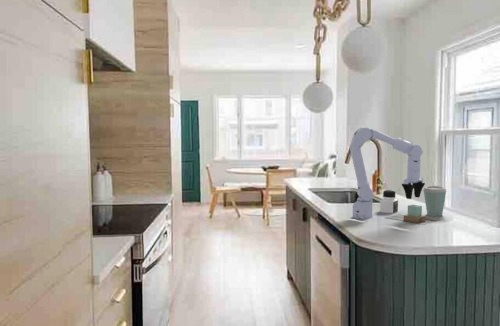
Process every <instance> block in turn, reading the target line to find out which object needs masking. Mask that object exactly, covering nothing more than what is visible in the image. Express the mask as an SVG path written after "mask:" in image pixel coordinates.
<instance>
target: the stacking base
mask: <svg viewBox="0 0 500 326" xmlns="http://www.w3.org/2000/svg"><path fill="white" fill-rule="evenodd" d="M385 219H387V220H392V221H398V222H399V221H400V222H405V223H409V224H416V225H421V226H425V225H429V224H432V223H433V224H434V223H435V222H438V220H437V219H430V218H427V216H426V215H424V214H422V216H418V217H415V216H408V213H407V214H401V213H400V214H396V215H391V216H390V215H389V216H386V217H385Z"/></svg>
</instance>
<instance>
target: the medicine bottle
mask: <svg viewBox="0 0 500 326" xmlns="http://www.w3.org/2000/svg"><path fill="white" fill-rule="evenodd" d="M398 211H399V200H398V199H397V198H396V191H395V190H392V189H390V190H389V189H388V190H386V189H385V190H384V191H383V192H382V199H380V200H379V212H380V213H387V214H395V213H397V212H398Z"/></svg>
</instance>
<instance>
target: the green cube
mask: <svg viewBox="0 0 500 326" xmlns="http://www.w3.org/2000/svg"><path fill="white" fill-rule="evenodd" d="M407 214H408V216H415V217H418V216H422V215H423V205H417V204H410V205H407Z"/></svg>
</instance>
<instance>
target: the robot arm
mask: <svg viewBox="0 0 500 326" xmlns="http://www.w3.org/2000/svg"><path fill="white" fill-rule="evenodd" d="M369 140H379V141H381V142H384V143H386V144H388V145H391V146H392V148H393V150H395V151H398V152H400V153H403V154H406V155H407V168H406V169H407V171H406V173H407V174H406V177H407V178H406V179H403V183H401V186H402V188H403V190H404V194H405V198H406V200H412V197H413V194H414V197H415V198H420V197H421V193H422V192H423V189H424V187H425V185H426V182H424V177H423V178H422V177H421V157H422V154H423V153H424V151H423V149H422V147H421V146H420V145H417V144H414V142H413V141H411V142H410V141H408V140H405V138H404V137H397V138H393V137H391V136H389V135H388V134H385V133H383V132H381V131H378V130H377V129H372V128H368V127H360V128H358V129H356V131H355V132H354V133H353V135H352V138H351V141H350V144H349V150H350V155H351V160H352V164H353V167H354V173H355V177H356V183H357V190H356V192H357V193H356V194H357V196H358V197H357V198H356V201H354V203H353V205H352V219H354V220H355V219H357V220H359V221H360V220H362V221H366V220H365V219H370V218H373V197H374V191H373V189H371V186H370V184H369V180H368V177H367V172H366V169H365V163H364V158H363V154H362V147H363V146H364V144H365V143H366V142H368V141H369ZM413 192H414V193H413Z"/></svg>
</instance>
